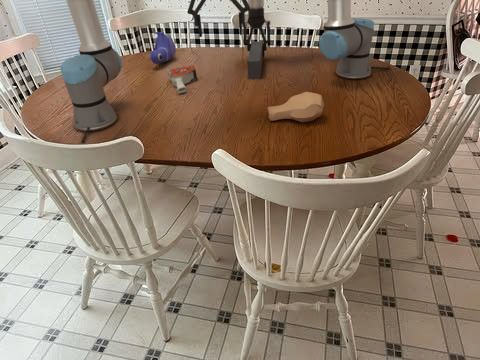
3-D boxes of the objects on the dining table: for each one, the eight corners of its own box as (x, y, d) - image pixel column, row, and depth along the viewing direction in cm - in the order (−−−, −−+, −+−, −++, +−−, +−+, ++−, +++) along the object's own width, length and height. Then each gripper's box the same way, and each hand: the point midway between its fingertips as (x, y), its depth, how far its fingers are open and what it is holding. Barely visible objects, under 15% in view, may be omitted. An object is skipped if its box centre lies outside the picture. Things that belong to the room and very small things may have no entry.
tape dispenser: (182, 98, 151) (209, 79, 163) (180, 86, 147) (208, 68, 160) (151, 89, 158) (180, 72, 171) (149, 78, 155) (178, 61, 167)
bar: (260, 78, 161) (260, 61, 157) (248, 79, 162) (247, 61, 157) (263, 57, 184) (262, 41, 179) (252, 57, 185) (251, 41, 180)
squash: (327, 123, 123) (327, 101, 117) (270, 133, 125) (267, 112, 119) (321, 105, 131) (320, 84, 124) (267, 115, 133) (264, 94, 126)
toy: (164, 64, 198) (143, 70, 176) (159, 31, 191) (137, 33, 169) (180, 63, 196) (162, 69, 173) (176, 30, 189) (156, 32, 167)
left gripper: (255, -42, 110) (257, 30, 122) (175, -38, 111) (185, 34, 123) (256, -40, 104) (258, 36, 116) (172, -35, 105) (182, 39, 117)
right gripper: (276, 5, 169) (275, 54, 182) (236, 6, 171) (239, 55, 184) (276, 8, 163) (275, 59, 176) (235, 10, 165) (238, 60, 178)
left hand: (220, 35), depth 120 cm, fingers open, 13 cm apart
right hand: (257, 57), depth 180 cm, fingers open, 6 cm apart
